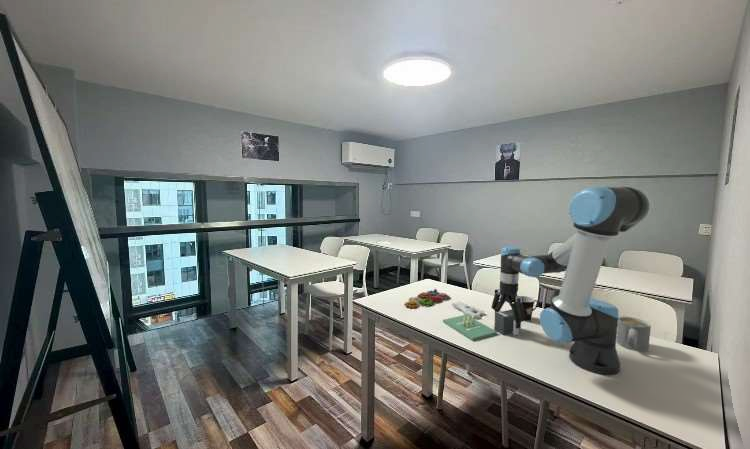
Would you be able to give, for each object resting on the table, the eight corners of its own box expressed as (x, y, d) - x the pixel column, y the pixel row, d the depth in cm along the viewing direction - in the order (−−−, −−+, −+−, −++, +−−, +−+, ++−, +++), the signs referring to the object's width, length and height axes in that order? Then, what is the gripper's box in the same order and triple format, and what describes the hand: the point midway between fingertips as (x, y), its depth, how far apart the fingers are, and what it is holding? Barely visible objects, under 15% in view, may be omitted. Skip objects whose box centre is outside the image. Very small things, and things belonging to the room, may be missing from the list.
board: (497, 334, 132) (497, 322, 132) (472, 340, 126) (472, 329, 126) (465, 317, 150) (466, 307, 150) (442, 322, 145) (443, 311, 144)
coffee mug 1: (516, 321, 145) (517, 301, 144) (512, 314, 154) (513, 295, 153) (542, 323, 143) (543, 303, 142) (537, 316, 151) (538, 297, 150)
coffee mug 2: (621, 336, 129) (623, 314, 128) (651, 346, 121) (654, 322, 120) (609, 345, 122) (611, 322, 121) (640, 357, 114) (643, 331, 113)
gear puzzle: (415, 312, 157) (416, 305, 157) (394, 304, 169) (394, 297, 169) (452, 299, 177) (452, 292, 176) (430, 292, 189) (431, 286, 189)
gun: (447, 302, 160) (459, 299, 167) (447, 309, 161) (458, 304, 167) (478, 315, 146) (489, 310, 153) (477, 322, 147) (488, 317, 153)
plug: (519, 330, 136) (520, 313, 135) (503, 334, 132) (503, 317, 131) (510, 326, 140) (511, 309, 139) (494, 330, 136) (495, 312, 135)
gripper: (537, 287, 125) (534, 338, 127) (496, 274, 145) (494, 318, 147) (524, 290, 122) (521, 342, 124) (484, 276, 142) (482, 321, 144)
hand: (506, 329), depth 136 cm, fingers open, 9 cm apart
